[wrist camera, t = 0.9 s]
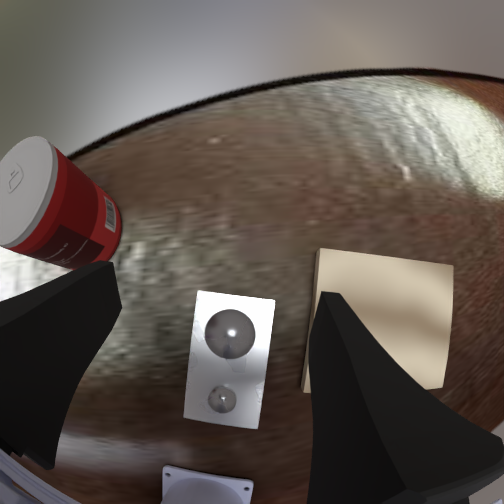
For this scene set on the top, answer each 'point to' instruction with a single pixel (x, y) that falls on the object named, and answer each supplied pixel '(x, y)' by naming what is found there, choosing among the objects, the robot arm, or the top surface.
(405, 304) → the stand
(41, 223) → the canned food
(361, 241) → the top surface
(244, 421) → the housing
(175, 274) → the top surface
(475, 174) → the top surface
